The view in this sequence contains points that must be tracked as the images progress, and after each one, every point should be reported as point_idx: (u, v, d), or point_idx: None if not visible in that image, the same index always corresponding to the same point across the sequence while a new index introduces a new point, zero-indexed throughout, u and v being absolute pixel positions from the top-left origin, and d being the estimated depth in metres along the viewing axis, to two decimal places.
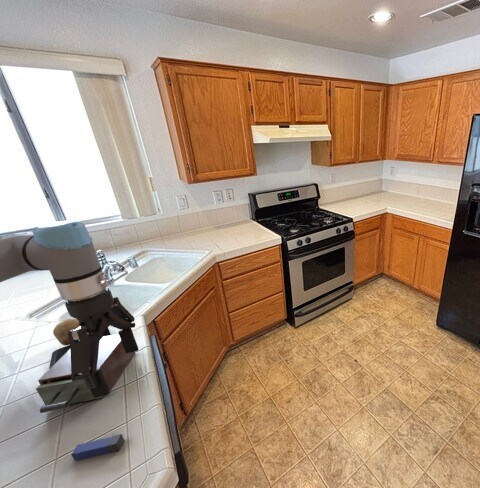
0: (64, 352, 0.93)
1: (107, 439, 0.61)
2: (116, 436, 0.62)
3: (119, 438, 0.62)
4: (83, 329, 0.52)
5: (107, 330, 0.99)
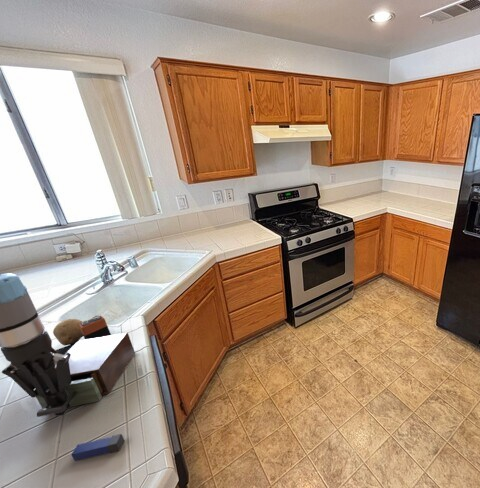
0: (64, 352, 0.93)
1: (107, 439, 0.61)
2: (116, 436, 0.62)
3: (119, 438, 0.62)
4: None
5: (107, 330, 0.99)
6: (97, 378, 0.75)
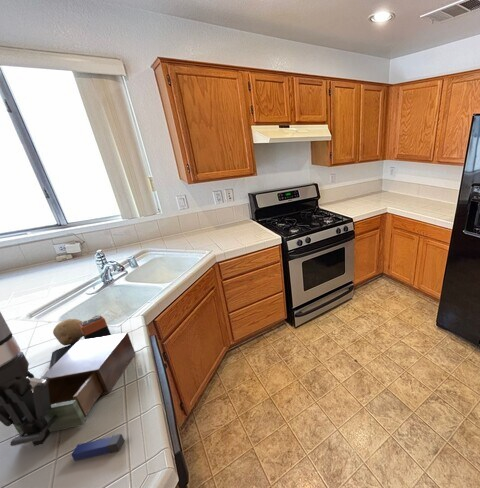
0: (64, 352, 0.93)
1: (107, 439, 0.61)
2: (116, 436, 0.62)
3: (119, 438, 0.62)
4: None
5: (107, 330, 0.99)
6: (81, 399, 0.68)
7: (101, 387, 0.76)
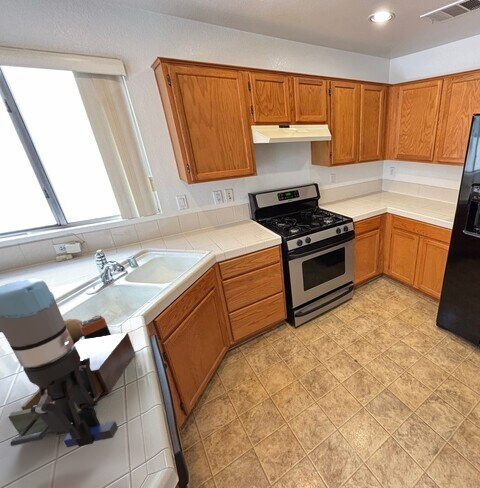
0: None
1: (100, 426, 0.60)
2: (109, 423, 0.60)
3: (112, 425, 0.60)
4: (47, 405, 0.49)
5: (107, 330, 0.99)
6: None
7: (101, 387, 0.76)
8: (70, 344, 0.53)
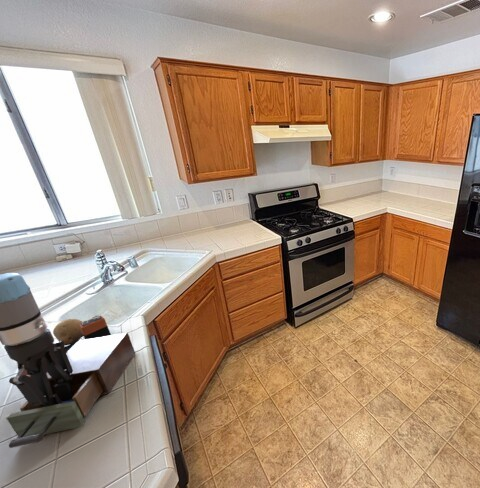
0: None
1: (72, 400, 0.70)
2: None
3: None
4: (23, 376, 0.59)
5: (107, 330, 0.99)
6: (80, 400, 0.68)
7: (100, 388, 0.75)
8: (44, 327, 0.63)
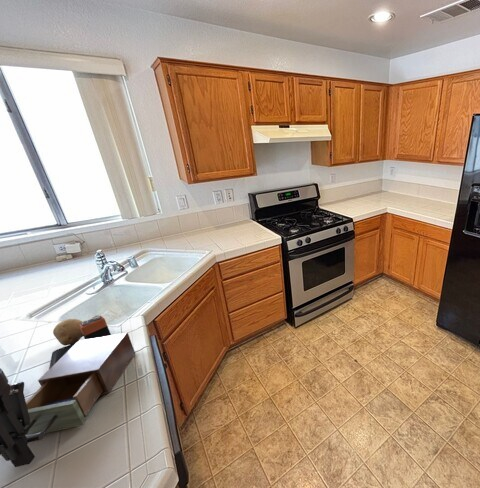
0: (64, 352, 0.93)
1: (73, 399, 0.70)
2: None
3: None
4: None
5: (107, 330, 0.99)
6: (81, 399, 0.68)
7: (101, 387, 0.75)
8: None
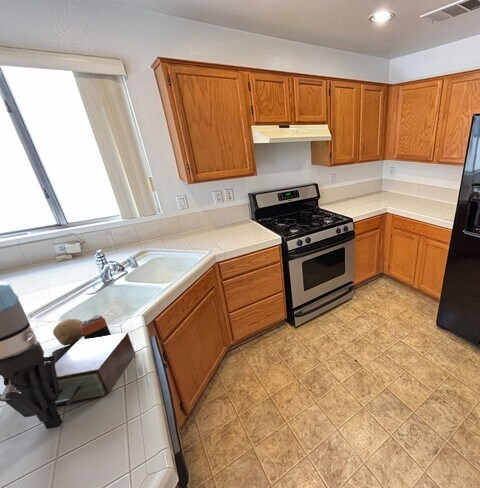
0: (64, 352, 0.93)
1: None
2: None
3: None
4: (10, 394, 0.56)
5: (107, 330, 0.99)
6: None
7: None
8: (33, 340, 0.60)
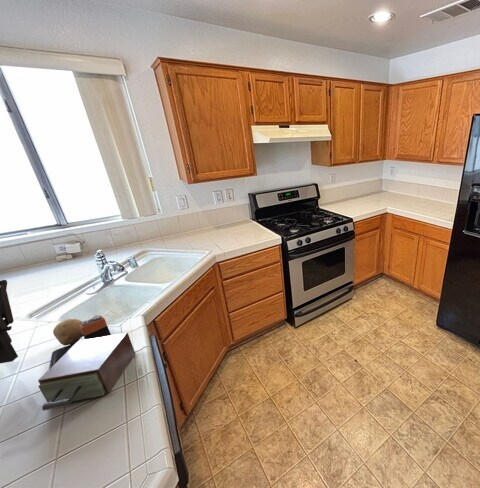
0: (64, 352, 0.93)
1: None
2: None
3: None
4: None
5: (107, 330, 0.99)
6: None
7: None
8: None
